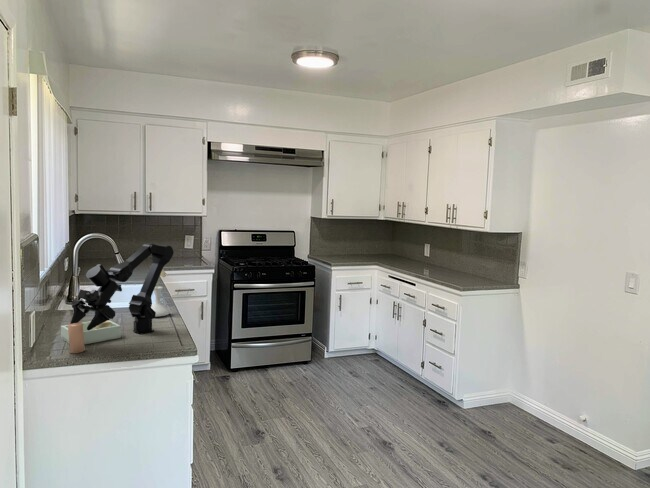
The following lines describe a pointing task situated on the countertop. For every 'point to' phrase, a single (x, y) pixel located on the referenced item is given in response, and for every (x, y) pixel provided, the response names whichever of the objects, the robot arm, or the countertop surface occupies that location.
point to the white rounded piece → (158, 306)
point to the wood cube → (103, 325)
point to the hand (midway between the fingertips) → (79, 327)
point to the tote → (95, 333)
